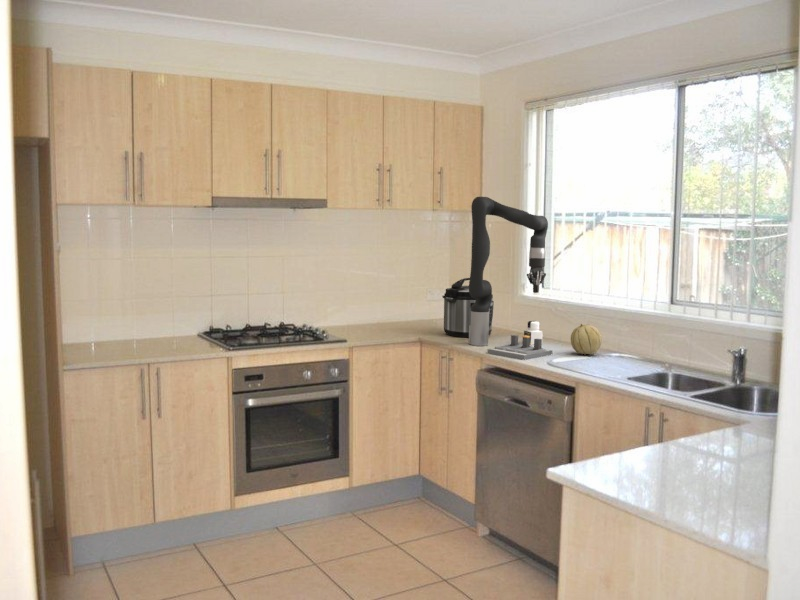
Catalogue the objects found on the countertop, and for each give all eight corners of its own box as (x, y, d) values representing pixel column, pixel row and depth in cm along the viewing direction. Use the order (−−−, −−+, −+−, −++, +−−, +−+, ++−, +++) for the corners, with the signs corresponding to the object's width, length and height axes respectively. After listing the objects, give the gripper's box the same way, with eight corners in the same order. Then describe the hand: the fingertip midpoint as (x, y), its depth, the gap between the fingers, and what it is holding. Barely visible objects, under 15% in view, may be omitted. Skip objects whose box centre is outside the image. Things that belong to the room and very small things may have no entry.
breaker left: (510, 346, 371) (510, 335, 370) (513, 345, 373) (514, 334, 372) (514, 347, 368) (515, 336, 368) (518, 346, 370) (519, 335, 370)
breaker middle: (521, 348, 366) (521, 335, 365) (525, 347, 368) (525, 335, 367) (526, 349, 363) (526, 336, 363) (530, 348, 365) (530, 336, 365)
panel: (487, 353, 363) (487, 347, 363) (515, 348, 378) (516, 342, 378) (524, 359, 347) (524, 353, 347) (552, 354, 362) (552, 348, 362)
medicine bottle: (523, 343, 395) (524, 320, 393) (535, 342, 397) (536, 320, 396) (530, 345, 388) (531, 322, 387) (542, 344, 390) (543, 321, 389)
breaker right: (533, 350, 360) (533, 338, 360) (536, 349, 363) (537, 338, 362) (538, 351, 358) (538, 339, 358) (542, 350, 360) (542, 339, 360)
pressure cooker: (446, 338, 405) (447, 279, 401) (436, 331, 433) (437, 275, 429) (500, 338, 409) (502, 280, 406) (487, 330, 437) (489, 276, 433)
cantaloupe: (607, 356, 361) (609, 324, 359) (584, 358, 354) (586, 326, 352) (586, 351, 374) (587, 321, 372) (563, 353, 367) (564, 322, 365)
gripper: (539, 256, 372) (537, 291, 374) (522, 257, 363) (521, 292, 365) (551, 257, 367) (550, 292, 369) (535, 257, 358) (533, 294, 360)
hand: (535, 292), depth 367 cm, fingers closed
